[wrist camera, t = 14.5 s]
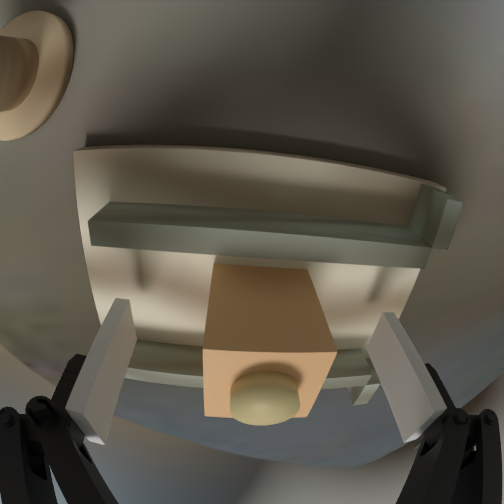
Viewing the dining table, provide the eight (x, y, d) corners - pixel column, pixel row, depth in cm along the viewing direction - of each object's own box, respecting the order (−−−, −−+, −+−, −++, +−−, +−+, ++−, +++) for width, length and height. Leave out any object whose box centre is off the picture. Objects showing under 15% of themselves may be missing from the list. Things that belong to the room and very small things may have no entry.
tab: (213, 263, 15) (200, 370, 9) (307, 269, 16) (344, 371, 9) (211, 332, 17) (203, 433, 11) (291, 336, 18) (309, 433, 12)
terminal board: (84, 146, 13) (46, 161, 10) (435, 182, 15) (473, 203, 11) (119, 358, 20) (106, 394, 17) (362, 368, 22) (375, 402, 19)
